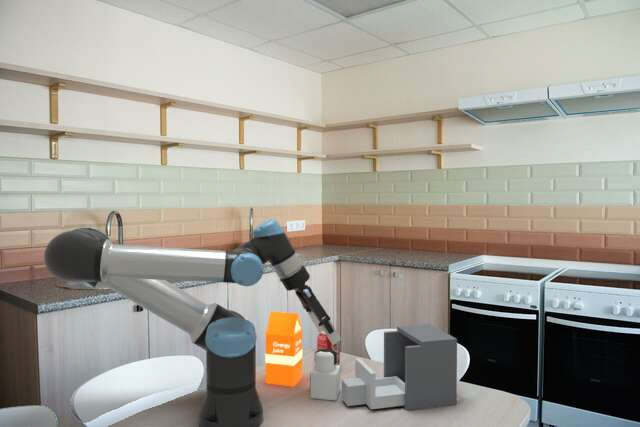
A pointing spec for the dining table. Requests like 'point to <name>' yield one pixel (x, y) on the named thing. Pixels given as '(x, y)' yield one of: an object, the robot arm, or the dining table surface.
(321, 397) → the medicine bottle
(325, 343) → the soda can
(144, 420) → the dining table surface
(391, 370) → the housing
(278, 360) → the orange juice
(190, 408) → the dining table surface
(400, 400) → the drawer
